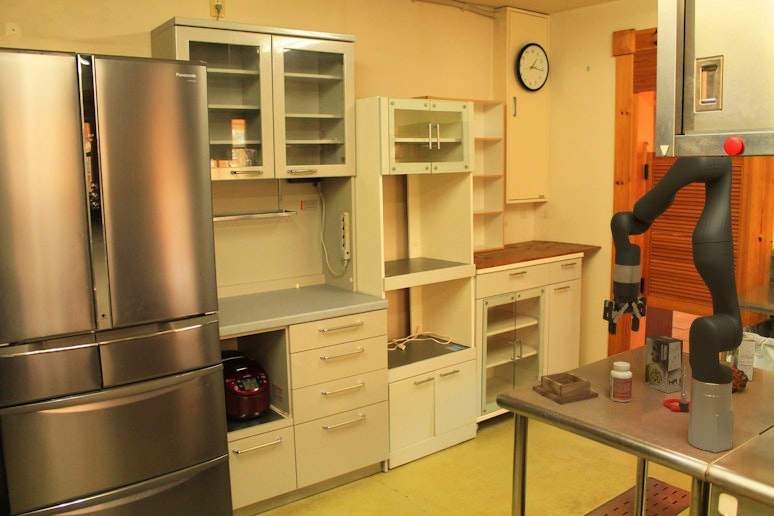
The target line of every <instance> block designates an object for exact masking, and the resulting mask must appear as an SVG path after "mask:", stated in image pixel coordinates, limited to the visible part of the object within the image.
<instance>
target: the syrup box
mask: <svg viewBox="0 0 774 516" xmlns="http://www.w3.org/2000/svg"><path fill="white" fill-rule="evenodd" d="M755 347H756V338H755V337H754V336H753V335H752V334H750V333H744V332H743V339H742V343H741V345H740V346H739V347H738V348H737V349H736V350H733V351H730V364H729V365H730V366H729V367H731V368H732V367H733V366H735V367H736V368H738V369H739V370H742V371H744V374H746V375H747V377H748V379H749V380H748V382H749V381H750V382H752V381H753V375H754V374H753V373H754V361H755Z"/></svg>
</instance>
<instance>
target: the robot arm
mask: <svg viewBox="0 0 774 516" xmlns="http://www.w3.org/2000/svg"><path fill="white" fill-rule="evenodd" d="M693 183H694V184H695V183H696V184H701V183H704V190H705V191H704V195H705V198H704V206H703V208H702V211H701V214H700V216H699V218H698V220H697V222H696V224H695V226H694V228H693V232H692V236H691V250H692V251H691V253H692V261H693V265H694V267H695V269H696V271H697V273H698V275H699V277H700V278H701V279H702V281H703V283H704V284H705V285H706V287H707V289H708V291H709V294H710V297H711V298H710V299H711V303H712V315H704V316H698V317H696V318H695V319H693V321H692V322H691V324H690V326H689V332H688V361H689V363H688V364H689V366H690V369H691V380H690V381H691V382H690V395H689V396H690V397H689V402H690V412H688V415H689V416H688V435H687V442H688V443H689V444H690V445H691V446H692V447H694V448H697V449H700V450H704V451H708V452H713V453H720V452H723V451H727V450H728V451H729V450H731V449H733V440H734V439H733V438H734V425H735V424H734V422H735V412H734V411H732V398H733V397H732V393H733V391H732V382H733V371H732V369H731V368H729V367H730V366H728V365H726V364H725V365H724V364H722V363H720V361H721V360H720V353H726V352H727V353H728V352H731V351H733V350H736V349H737V348H738V347H739V346H740V345H741V343H742V339H743V333H744V328H743V320H742V315H741V310H740V309H741V308H740V303H739V297H738V290H737V279H736V269H735V249H734V248H735V247H734V246H735V245H734V236H733V222H732V218H733V216H732V215H733V214H732V188H733V187H732V186H733V159H732V157H731V158H730V157H679V156H677V158H676V160H675V161H674V162H673V163H672V164H671V166H670V167H669V168H668V170H667V171H666V172H665V173H664V175H663V176H661V178H660V180H659V181H657V183H656V184H655V185H654V186H653V187H652V188H651V189H650V190H649V191H647V192H646V193H645V194H644V195H642V196H641V197H640V198H638V200H637V201H636V202H635V203H634V204H633V207H632V210H629V211H628V210H626V211H618V212H615V213H614V214H613V216H612V217H611V219H610V227H609V228H610V232H611V233H610V234H611V236H612V241H613V242H612V243H613V245H614V250H615V253H614V265H613V266H614V267H613V270H612V271H613V272H612V273H613V274H612V291H611V292H612V295H613V299H612V300H610V299H609V300H608V299H605V300H604V302H603V313H602V320H605V321H607V323H608V325H607V326H608V329H607V332H608V333H609V334H610V335H612V336H616V335H617V322H618V319H619V318H620V317H622V315H626V314H630V315H631V317H632V318H631V327H630V328H631V331H632V332H636V333H637V332H639V330H640V321H641V319H642V318H645V317H646V316H647V298H646V297H645V296H643V295H640V293H641V288H640V287H641V274H642V273H641V272H642V271H641V257H642V256H641V255H642V249H641V246H640V245H639V244H636V243H632V242H631V241H630V237H629V236H639V235H642V234H645V233H647V231H649V230H650V228H651V226H652V225H653V224H654V222H655V220H656V219H657V218H659V217H660V216H662V214H664V213H665V212H667V211H668V210H669V208H671V207H672V205H673V203H674V202H675V199H676V195H677V193H678V192H679V191H681V190H682V189H683V188H686V187H687V186H688V185H691V184H693ZM727 366H728V367H727Z"/></svg>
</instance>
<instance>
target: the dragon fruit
mask: <svg viewBox="0 0 774 516" xmlns="http://www.w3.org/2000/svg"><path fill="white" fill-rule="evenodd" d="M726 366H727V367H729V368H731V367H730V366H728V365H726ZM731 369H732V371H733V382H732V392H737V391H738V389H745V388H746V387H747V384H748V382H749V381H748V380H749V379H748V377H747V375H746V374H744V371H742V370H739V369H738V368H736V367H735V366H733V367H732V368H731Z"/></svg>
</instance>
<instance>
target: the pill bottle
mask: <svg viewBox="0 0 774 516" xmlns="http://www.w3.org/2000/svg"><path fill="white" fill-rule="evenodd" d="M612 367H613V369H612V370H611V371H610V379H609V382H610V383H609V385H610V386H609V398H610V399H611V400H612V401H614V402H619V403H627V402H628V403H629V402H630V401H632V396H633V395H632V393H633V392H632V390H633V373H632V372H631V371H630V370H631V363H629V362H626V361H614V362H613V366H612Z"/></svg>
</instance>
